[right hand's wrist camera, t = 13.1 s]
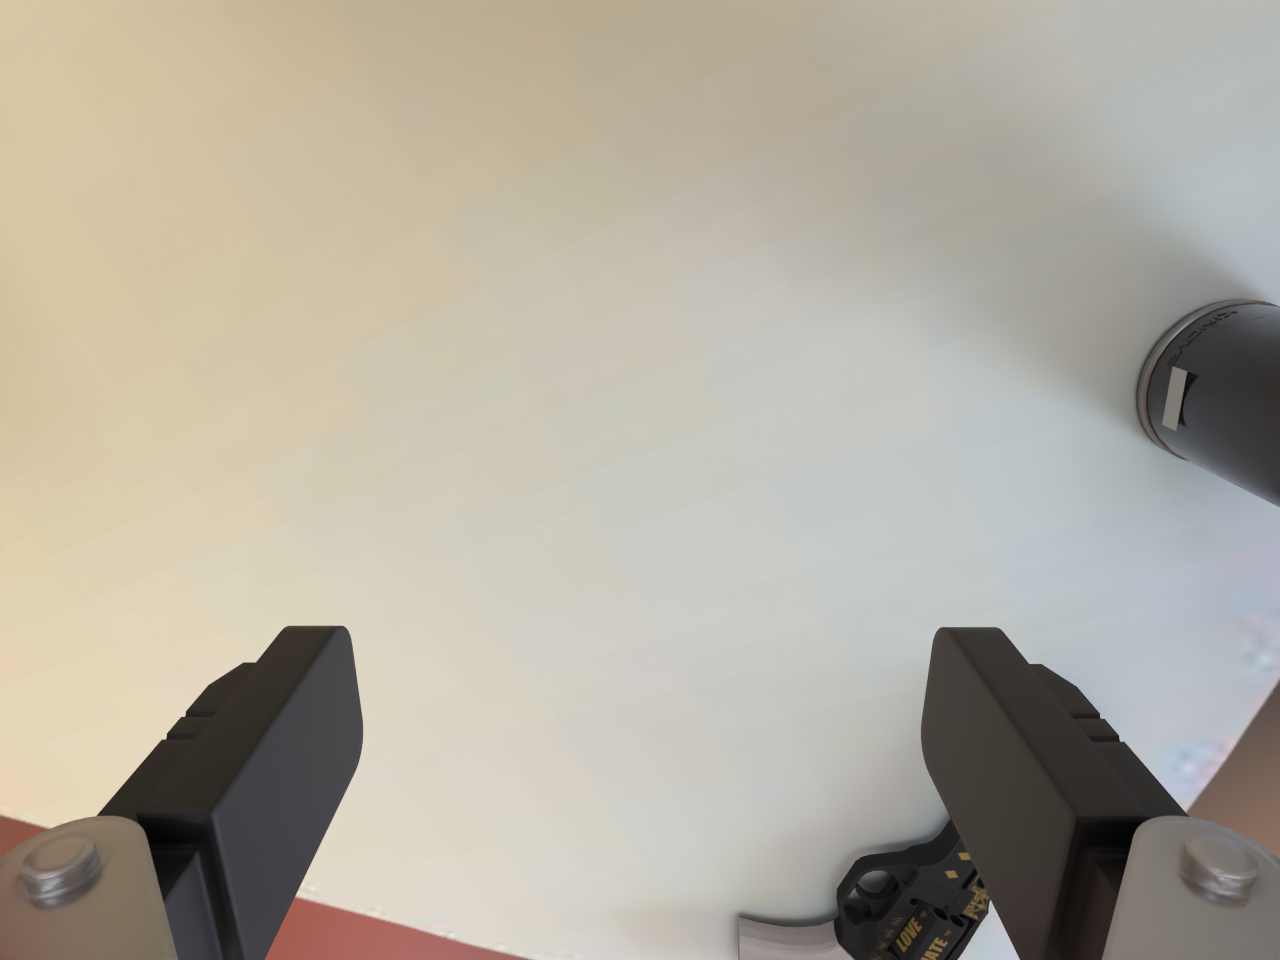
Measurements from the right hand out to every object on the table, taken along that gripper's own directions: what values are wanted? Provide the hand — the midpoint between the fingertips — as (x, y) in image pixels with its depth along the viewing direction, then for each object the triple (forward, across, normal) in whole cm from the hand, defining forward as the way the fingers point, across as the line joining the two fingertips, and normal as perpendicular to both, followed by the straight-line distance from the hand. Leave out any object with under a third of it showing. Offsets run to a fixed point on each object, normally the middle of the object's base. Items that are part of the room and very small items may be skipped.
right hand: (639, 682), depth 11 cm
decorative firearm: (+36, -18, +38) cm, 56 cm away
